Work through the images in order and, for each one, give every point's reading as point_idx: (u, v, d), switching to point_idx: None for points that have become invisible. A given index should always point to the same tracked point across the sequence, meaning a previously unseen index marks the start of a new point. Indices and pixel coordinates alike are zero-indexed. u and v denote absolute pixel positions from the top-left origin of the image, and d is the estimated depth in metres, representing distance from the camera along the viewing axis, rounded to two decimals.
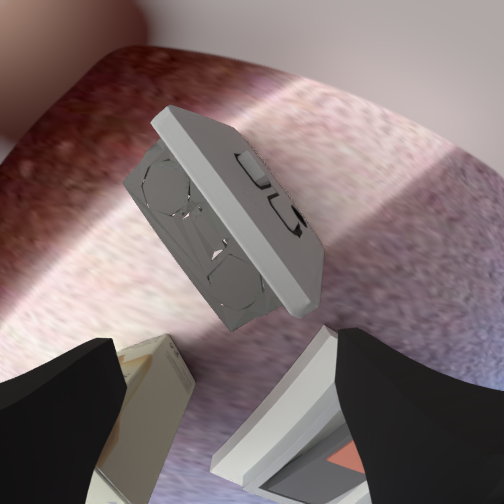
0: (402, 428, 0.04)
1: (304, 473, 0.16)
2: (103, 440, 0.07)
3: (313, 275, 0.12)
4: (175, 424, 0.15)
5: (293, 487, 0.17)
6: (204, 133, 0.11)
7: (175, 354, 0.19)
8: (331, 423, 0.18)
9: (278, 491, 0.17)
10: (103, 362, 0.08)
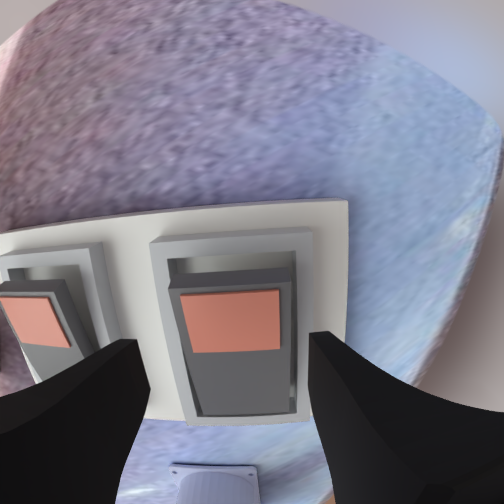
0: (357, 438, 0.04)
1: (37, 366, 0.15)
2: (129, 444, 0.07)
3: None
4: None
5: None
6: None
7: None
8: None
9: None
10: (129, 364, 0.08)
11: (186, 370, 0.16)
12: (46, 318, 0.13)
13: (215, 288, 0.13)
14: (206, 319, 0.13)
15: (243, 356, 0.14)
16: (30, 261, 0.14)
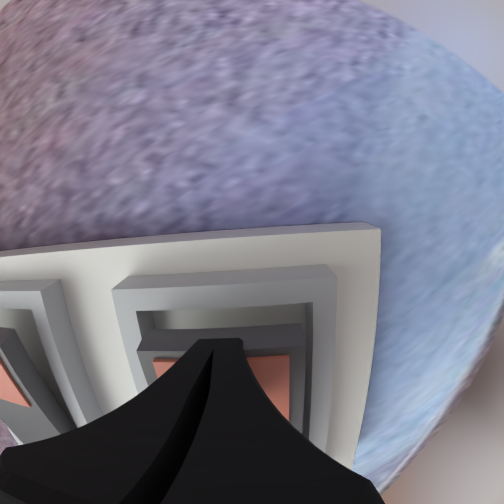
0: None
1: (3, 416, 0.11)
2: None
3: None
4: None
5: (28, 440, 0.12)
6: None
7: None
8: None
9: None
10: None
11: None
12: None
13: None
14: None
15: None
16: None
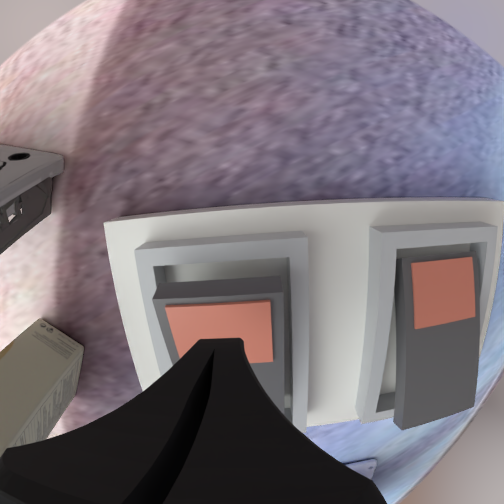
0: None
1: None
2: None
3: None
4: (41, 389, 0.13)
5: None
6: None
7: (48, 330, 0.17)
8: None
9: None
10: None
11: (383, 364, 0.15)
12: (253, 328, 0.12)
13: (434, 257, 0.14)
14: (429, 287, 0.13)
15: (450, 331, 0.13)
16: (203, 255, 0.13)
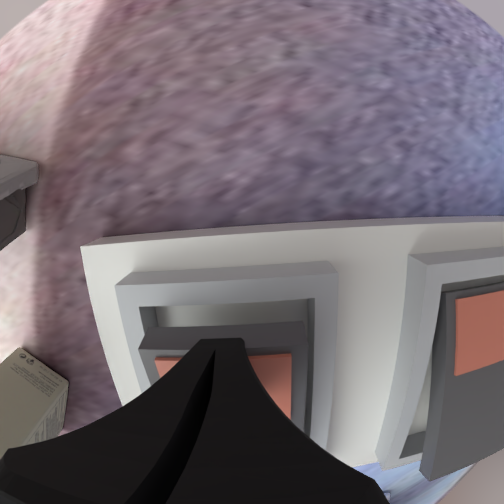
0: None
1: None
2: None
3: None
4: (20, 433, 0.10)
5: None
6: None
7: (28, 362, 0.14)
8: None
9: None
10: None
11: (414, 412, 0.11)
12: (268, 387, 0.09)
13: (479, 290, 0.10)
14: (473, 326, 0.10)
15: (490, 373, 0.10)
16: (203, 295, 0.10)
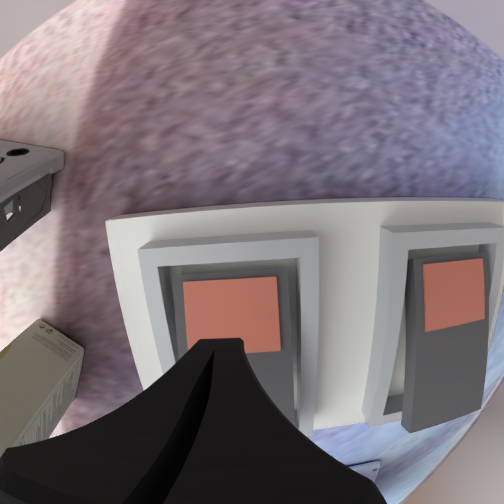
0: None
1: None
2: None
3: None
4: (41, 392, 0.13)
5: None
6: None
7: (47, 331, 0.17)
8: None
9: None
10: None
11: (392, 367, 0.14)
12: (261, 306, 0.13)
13: (445, 258, 0.13)
14: (440, 289, 0.13)
15: (460, 333, 0.13)
16: (210, 255, 0.13)
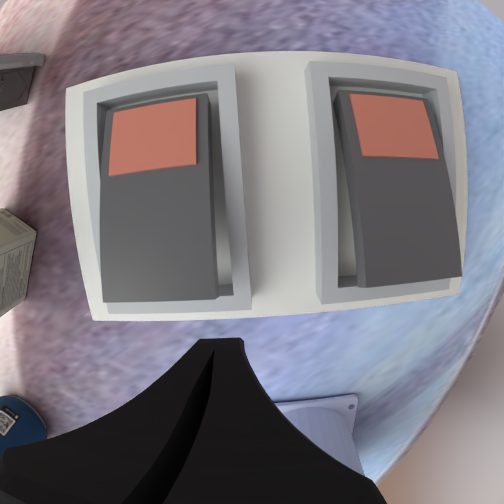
0: None
1: (109, 223, 0.12)
2: None
3: None
4: None
5: (125, 269, 0.12)
6: None
7: (6, 215, 0.16)
8: None
9: (117, 297, 0.12)
10: None
11: (336, 212, 0.14)
12: (180, 123, 0.12)
13: (376, 94, 0.13)
14: (373, 117, 0.12)
15: (410, 168, 0.12)
16: (140, 86, 0.12)
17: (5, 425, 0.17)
